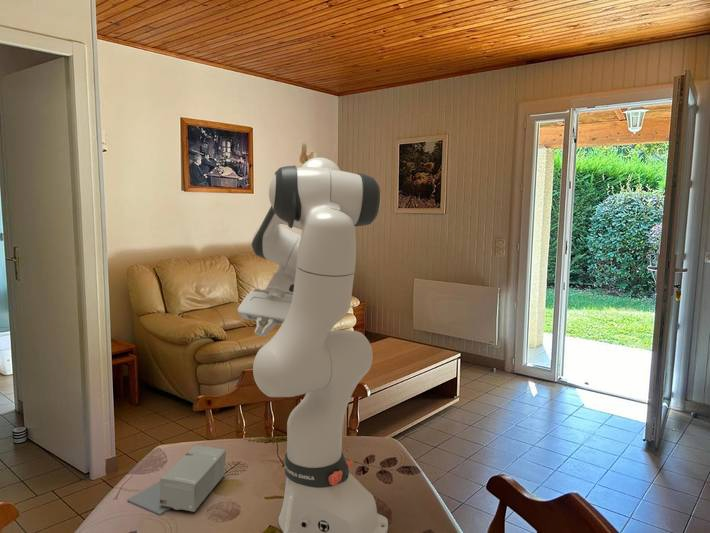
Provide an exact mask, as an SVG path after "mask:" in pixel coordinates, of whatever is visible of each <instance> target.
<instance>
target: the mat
mask: <svg viewBox="0 0 710 533" xmlns="http://www.w3.org/2000/svg"><path fill="white" fill-rule="evenodd" d="M126 500H127V502H128V503H130V504H133V505H135V506H137V505H138V506H137V507H139V506H140V507H139V508H141V507H142V508H141V509H144V510H146V511H149V512H151V513H153V514H156V515H157V516H162V515H163V514H165V513H166V512H168V511H170V510H171V509H173V508H172V507H166V506H161V505H159V503H160V480H159V481H158V482H156V483H154V484H152V485H150V486H149V487H146V488H145V489H143V490H142V491H140V492H138V493H136V494H135V495H133V496H132V497H129V498H128V499H126Z"/></svg>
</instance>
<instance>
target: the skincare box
mask: <svg viewBox="0 0 710 533" xmlns="http://www.w3.org/2000/svg"><path fill="white" fill-rule="evenodd" d="M226 454H227V450H226V449H221V448H217V447H210V446H205V445H193V447H192V448H191V449H190V450H189V451H187V452H186V453H185V454H184V455H182V457H181V458H180V459H179V460H178V461H177V462H176V463H175V464H174V465H173V466H172V467H170V468H169V470H168V471H167V472H165V473H164V474H163V476H161V477H160V479H159V481H160V503H159V505H161V506H166V507H172V508H171V509H174V510H176V511H179V510H183V511H189V512H194V513H195V512H196V511H197V509H198V508H199V507H200V506H201V504H202V502H204V501H205V499H206V498H207V497H208V496H209V494H211V492H212V491H213V490H214V489H215V487H216V486H217V485H218V483H219V482H220V481H221V480H222V478H223V477H224V476H225V475H226Z"/></svg>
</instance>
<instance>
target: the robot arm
mask: <svg viewBox="0 0 710 533" xmlns="http://www.w3.org/2000/svg"><path fill="white" fill-rule="evenodd" d="M381 198H382V196H381V188H380V185H379V183H378V182H377V180H376V179H375V178H374V177H372V176H370V175H367V174H364V173H361V172H359V173H354V172H349V171H344V170H341V169H340V168H339V166H338V165H337V164H336V163H335V162H334V161H333V160H331V159H329V158H326V157H312V158H309V159H308V160H307V161H305V162H304V163H303V164H302V165H301V167H300V166H299V167H298V166H296V165H287V166H282V167H279V168H277V170H276V171H275V172H274V175H273V177H272V179H271V181H270V184H269V189H268V199H269V202H270V205H271V206H270V207H269V209H268V211H267V213H266V215H265V217H264V219H263V221H262V223H261V224H260V225H259V226H258V227H257V229H256V231H255V232H254V234H253V237H252V239H251V247H252V250H253V253H254V254H255V256H257V257H260V258H262V259H265V260H268V261H271V262H273V263H275V264H277V265H278V269H277V271H276V272H275V273H274V274H273V275H272V277H271V279H270V281H269V282H268V284H267V286H266V288H265V289H260V288H255V289H254V290H251V291H250V292H248V294H246V296H245V297H244V299H243V300H242V301H241V303H240V304H239V306H238V307H237V314H238V315H239V316H240V317H241V318H242V319H244V320H249V321H255V322H256V328H255V329H254V331H253V332H254V335H256V336H259V337H265V338H266V337H267V336H268V334H269V332H271V331H272V330H273V329H275V328H276V327H277V325H280V327H279V328H278V330H277V332H275V334H274V335H273V336H272V337H271V339H270V340H268V342H267V343H265V344H264V345H263V346H261V347H260V348H259V350H258V351H257V352H256V355H255V357H254V360H253V363H252V364H253V366H252V372H253V373H252V374H253V380H254V381H255V383H256V385H257V387H258V388H259V390H260V391H261V392H262V393H263V394H264V395H265V396H267V397H269V398H291V397H292V398H293V397H296V396H297V397H298V396H301V395H304V396H303V399H302V400H301V401H300V402H299V403H298V404H297V405H296V406H295V407H294V408H293V409H292V410H291V412H290V413H289V416H288V419H287V423H286V433H287V434H286V436H287V437H286V438H287V439H286V440H287V441H286V452H285V453H284V454H285V455H284V474H285V476H286V480H285V488H284V495H283V496H284V497H283V502H282V507H281V510H280V513H279V516H278V524H279V525H278V526H279V527H280V529H281V530H282V533H388V531H389V521H388V518H387V517H385V516H384V515H382V514H380V513H378V508H377V502H376V499H375V497H374V495H373V494H372V493H371V492H370V491H368V489H367V488H366V487H364V485H362V484H361V482H360V481H359V480H358V479H356V477H355V476H354V475H353V474H352V473H350V468H351V467H353V465H354V463H353V461H354V459H351V460H349V461H348V462H347V460H346V457H345V454H344V451H343V450H342V448H343V447H342V446H343V431H344V421H345V419H344V418H345V416H346V415H345V414H346V410H347V408H348V405H349V402H350V400H351V398H352V395H353V394H354V391H355V390H356V387H357V386H358V384H359V383H360V381H361V380H362V379H363V377H365V376H366V374H367V373H368V372H369V371H370V369H371V367H372V364H373V359H374V358H373V357H374V356H373V355H374V354H373V348H372V345H371V343H370V341H369V339H368V338H367V337H366V336H365V335H364V334H363V333H362V332H360V331H359V330H358V331H357V330H347V329H333V328H334V327H335V326H336V325H337V323H339V322H340V321H341V320H342V319H344V317H345V316H346V315H347V314H348V312H349V311H350V308H351V302H352V295H353V294H352V293H353V288H354V286H353V285H354V279H355V272H356V270H355V269H356V259H357V238H356V227H363V226H369V225H371V224H372V223H373V222H374V221H375V220H376V219H377V216H378V214H379V210H380V208H381V205H382V204H381V202H382V199H381ZM282 225H285V226H288V228H289V229H288V228H286V227H284V226H282ZM293 228H295V229H298V230H301V234H299V233H297V232H294V231H293V230H290V229H293ZM266 323H267V324H266ZM265 324H266V325H265ZM264 325H265V326H264ZM263 326H264V327H263ZM332 329H333V330H332Z"/></svg>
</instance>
